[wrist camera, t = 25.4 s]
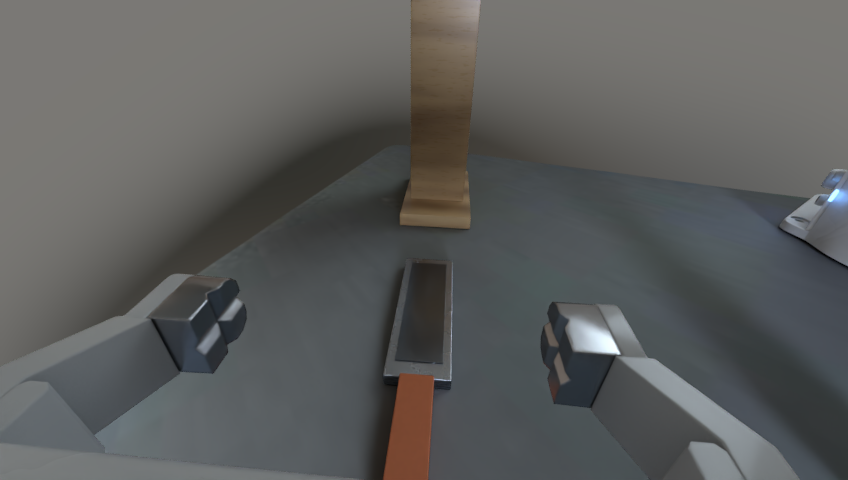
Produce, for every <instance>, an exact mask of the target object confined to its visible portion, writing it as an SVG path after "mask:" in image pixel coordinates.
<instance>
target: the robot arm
mask: <svg viewBox="0 0 848 480" xmlns="http://www.w3.org/2000/svg"><path fill="white" fill-rule="evenodd" d="M821 186H822V187H824V188H827V189H831V190H832V189H833V191H832V192H831V194H830V195H827V194H816V195H815V196H813V197H812V198H811V199H809V200H808V201H807V202H805V203H804V204H803V205H802V206H800V207H799V208H798V209H796V210H795V211H794V212H793V213H791V214H790V215H789V216H787V217H786V218H785V219H784V220H783V221H782V222H781V223H780V225H779V227H780V228H781V229H783V230H785V231H787V232H789V233H791V234H793V235H795V236H797V237H799V238H801V239H803V240H805V241H807V242H808V243H810V244H811V245H813V246H814V247H816V248H817V249H818V250H820V251H821V252H823V253H824V254H826V255H828V256H829V257H831V258H833V259H835V260H837V261H838V262H840V263H842V264H844V265H846V266H848V170H844V169H839V170H838V169H832V171H831V172H830V173H829V175H828V176H827V177H826V179H825V180H824V182H823V183H822V185H821ZM239 291H240V290H239V287H238V284H237V282H236V280H233V279H231V278H222V277H212V276H201V275H187V274H174V275H170V276H169V277H168V278H166V279H165V280H164V281H163V282H162V283H161V284H160V285H158V286H157V287H156V288H155V289H154V290H153V291H152V292H151V293H149V294H148V295H147V296H146V297H145V298H144V299H143V300H141V302H139V303H138V304H137V305H136V306H135V307H133V308H132V309H131V310H130V311H129V312H128V313H127V314H125V315H124V316H116V317H114V318H111V319H109V320H107V321H104V322H102V323H100V324H98V325H95V326H93V327H90V328H88V329H86V330H83V331H81V332H79V333H77V334H74V335H72V336H70V337H67V338H65V339H63V340H61V341H58V342H56V343H53V344H51V345H49V346H46V347H44V348H42V349H39V350H37V351H35V352H32V353H30V354H28V355H26V356H23V357H21V358H19V359H16V360H14V361H12V362H10V363H7V364H5V365H2V366H0V480H363V479H354V478H344V477H334V476H324V475H314V474H305V473H295V472H285V471H275V470H265V469H256V468H246V467H236V466H226V465H216V464H207V463H197V462H187V461H177V460H168V459H158V458H148V457H138V456H128V455H119V454H109V453H105V447H104V446H103V445H102V444H101V443H100V441H99V440H98V439H97V438H96V437H95V436H94V435H95V434H96V433H97V432H99V431H100V430H102V429H103V428H104V427H106V426H107V425H109V424H110V423H111V422H113V421H114V420H116V419H117V418H118V417H120V416H121V415H123V414H124V413H125V412H127V411H128V410H130V409H131V408H132V407H134V406H135V405H137V404H138V403H139V402H141V401H142V400H144V399H145V398H146V397H148V396H149V395H151V394H152V393H153V392H155V391H156V390H158V389H159V388H160V387H162V386H163V385H165V384H166V383H167V382H169V381H170V380H172V379H173V378H174V377H176V376H177V375H179V374H180V372H193V373H210V374H213V373H214V372H215V370H216V369H217V368H218V366H219V365H220V363H221V362H222V360H223V359H224V358H225V356H226V355H227V353H228V347H227V345H228V344H229V343H231V342H233V341H234V340H236V339H238V337H239V336H240V334H241V333H242V331H243V329H244V326H245V323H246V319H247V316H246V308H245V305H244V303H243V302H242V301H241V300H240V299H239V298H238V297H236V296H237V295H238V293H239ZM547 314H548V317H549V321H550V322H549V323H547V324H546V325H545V326H544V327H543V331H542V335H541V354H542V359H543V363H544V364H545V365H546V366H547V367H548V368H549V369H550V373H549V376H548V383H549V387H550V391H551V394H552V398H553V402H554V404H561V405H569V406H578V407H587V408H591V411H592V412H593V413H594V414H595V416H596V417H597V418H598V419H599V420H600V421H601V423H602V424H603V425H604V426H605V427H606V428H607V430H608V431H609V432H610V433H611V434H612V435H613V437H614V438H615V439H616V440H617V441H618V442H619V444H620V445H621V446H622V447H623V448H624V450H625V451H626V452H627V453H628V454H629V455H630V457H631V458H632V459H633V460H634V461H635V462H636V464H637V465H638V466H639V467H640V468H641V469H642V471H643V472H644V473H645V474H646V475H647V476H648V478H649V479H650V480H800V479H799V477H798V476H797V475H796V473H795V472H794V471H793V469H792V468H791V467H790V465H789V464H788V463H787V461H786V460H785V459H784V457H783V456H782V455H781V453H780V452H779V450H778V449H777V448H776V447H775V446H773V445H772V444H771V443H769V442H768V441H767V440H765V439H764V438H763V437H761V436H760V435H758V434H757V433H756V432H754V431H753V430H752V429H750V428H749V427H747V426H746V425H745V424H743V423H742V422H741V421H739V420H738V419H737V418H735V417H734V416H732V415H731V414H730V413H728V412H727V411H726V410H724V409H723V408H721V407H720V406H719V405H717V404H716V403H715V402H713V401H712V400H710V399H709V398H708V397H706V396H705V395H704V394H702V393H701V392H700V391H698V390H697V389H695V388H694V387H693V386H691V385H690V384H689V383H687V382H686V381H684V380H683V379H682V378H680V377H679V376H678V375H676V374H675V373H674V372H672V371H671V370H669V369H668V368H667V367H665V366H664V365H663V364H661V363H660V362H658V361H657V360H656V359H650V358H648V357H647V355H646V354H645V352H644V350H643V348H642V347H641V345H640V343H639V341H638V340H637V338H636V336H635V335H634V333H633V331H632V329H631V328H630V326H629V324H628V322H627V321H626V319H625V317H624V315H623V314H622V312H621V310H620V308H619V307H617V306H616V305H604V304H594V305H593V304H581V303H565V302H552V303H551V305H550V306H549V310H548V313H547Z"/></svg>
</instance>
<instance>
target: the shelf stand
mask: <svg viewBox="0 0 848 480" xmlns="http://www.w3.org/2000/svg"><path fill="white" fill-rule="evenodd" d="M480 6H481V0H411V177H410V181H409V184H408V188H407V191H406V194H405V198H404V201H403V205H402V208H401V211H400V225H410V226H427V227H444V228H461V229H470V220H471V215H470V200H469V185H468V172H466V163H467V152H468V141H469V130H470V118H471V107H472V96H473V85H474V74H475V73H474V72H475V63H476V52H477V39H478V29H479V18H480Z"/></svg>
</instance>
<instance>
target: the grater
mask: <svg viewBox="0 0 848 480" xmlns="http://www.w3.org/2000/svg"><path fill="white" fill-rule="evenodd" d="M452 306H453V261H445V260H430V259H414V258H407V260H406V264H405V269H404V274H403V279H402V284H401V289H400V294H399V299H398V303H397V308H396V313H395V318H394V323H393V328H392V333H391V338H390V343H389V347H388V352H387V357H386V362H385V367H384V372H383V383H384V384H387V385H398V387H397V393H396V399H395V406H394V412H393V418H392V425H391V431H390V437H389V443H388V450H387V456H386V462H385V469H384V475H383V480H428V473H429V457H430V440H431V424H432V407H433V391H434V388H435V389H448V390H450V389H451V380H452Z"/></svg>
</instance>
